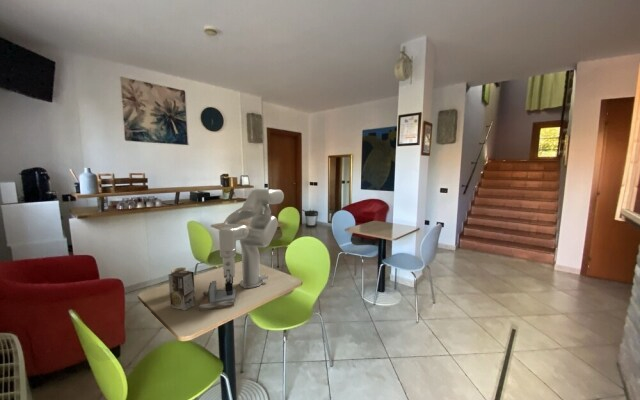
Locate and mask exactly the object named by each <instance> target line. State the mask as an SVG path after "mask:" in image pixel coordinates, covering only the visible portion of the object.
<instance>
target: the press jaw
mask: <svg viewBox="0 0 640 400" xmlns="http://www.w3.org/2000/svg"><path fill="white" fill-rule="evenodd" d="M230 276H231V275H230ZM226 277H227V275H226ZM233 283H234V281H233V282H232V287H233V285H234V284H233ZM233 288H234V287H233ZM217 290H218V289H217V280H212V281H211V282H209V286H208V289H207V291H208V302H209V301H210V303H217V302H224V301H232V300H234V302H235V301H236V289H235V288H234V289H233V290H232V291H225V290H224V291H217Z"/></svg>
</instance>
